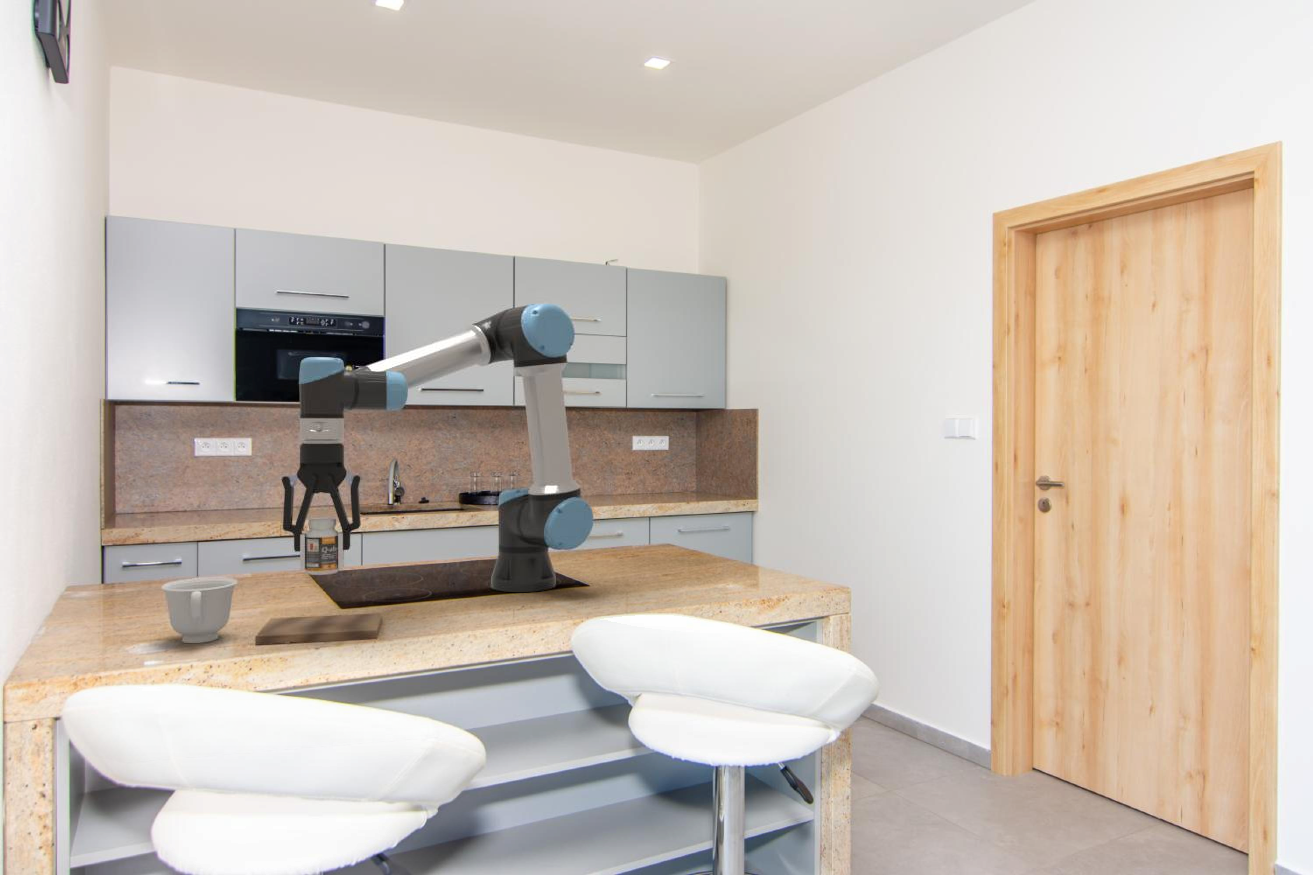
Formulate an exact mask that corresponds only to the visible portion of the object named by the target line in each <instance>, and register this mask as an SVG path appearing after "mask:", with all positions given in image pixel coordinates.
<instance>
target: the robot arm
mask: <svg viewBox="0 0 1313 875" xmlns="http://www.w3.org/2000/svg"><path fill="white" fill-rule="evenodd" d="M574 342H575V327H574V324H573V321H572V320H571V318H570V316H569V315H568V313H567V312H566V311H564V310H563V308H561V307H560V306H558V305H556V304H554V303H549V302H545V303H544V302H542V303H540V302H537V303H531V304H527V305H524V306H523V305H522V306H517V307H512V308H511V307H510V308H508V309H504V310H502V311H499V312H497V313H496V314H493V315H491V316H489V317H487V318H485V319H482V320H480V321H477V322H475V323H472V324H469V325H467V326H466V327H465V329H464V330H463V332H460V333H457V334H455V335H451V336H448V337H445V338H443V339H440V340H437V341H435V342H431V343H428V344H426V345H423V346H419V347H417V348H414V349H411V350H407V351H405V352H403V353H399V354H396V355H393V356H390V357H388V358H385V359H381V360H379V361H376V362H373V363H370V364H367V365H365V366H362V367H359V368H356V369H353V370H351V369H347V368H345V366H344V365H345V364H344V360H342V359H341V358H340V357H339V358H338V357H328V356H327V357H326V356H325V357H323V356H320V357H319V356H315V357H314V356H313V357H312V356H311V357H310V356H309V357H305V358H303V359H302V360H301V361H300V364H299V365H300V366H299V377H298V380H299V381H298V387H299V440H300V441H303V442H302V443H301V444H299V468H298V470H297V472H296V473H294V474H291V475H285V476H283V477H281V482H282V486H283V488H284V497H283V499H284V500H283V514H282V515H283V516H282V529H283V531H285V532H289V533H292V534H293V550H294V552H298V553H300V554H299V555H300V556H299V558H300V559H299V560H300V562H299V563H300V564H299V565H300V568H299V570H300V572H301V571H302V572H303V571H306V534H307V532H303V531H304V527H305V524H306V521H307V517H308V514H309V511H310V508H311V504H312V501H313V498H314V496H315V494H320V493H323V494H329V496H330V498H331V500H332V503H333V506H334V509H335V512H336V515H337V519H338V521H339V524H340V527H341V530H342V531H338V569H339V570H343V569H344V568H345V551H349V550H350V548H351V532H353V531H355V530H358V529H360V528H361V524H362V523H361V509H360V508H361V506H360V493H359V492H360V489H359V487H360V483H361V480H362V476H361V474H353V473H349V472H347V469H346V467H345V446H344V444H343V443H341V441H343V440H344V439H345V436H344V434H345V432H344V431H345V421H344V420H345V415H344V413H345V412H355V411H362V412H363V411H366V412H367V411H385V412H388V411H400V410H403V408H404V407H405V406H406V403H407V401H408V396H409V390H411V389H413V388H416V387H418V386H421V385H424V384H426V383H429V382H433V381H434V380H437V379H440V378H443V377H445V376H448V375H451V374H454V373H456V372H460V371H462V370H463V369H466V368H469V367H472V366H475V365H477V366H481V367H485V366H488V365H491V364H494V363H498V362H505V361H507V362H508V361H513V368H514V371H516V372H518V373H519V374H520V375H521V377H522V385H523V394H524V404H525V411H526V412H525V413H526V421H527V422H526V424H527V430H528V441H529V449H530V458H531V466H532V468H531V469H532V477H533V483H532V484H533V485H532V486H531V487H529V488H528V487H527V488H516V489H507V490H503V491H502V492H501V493H499V497H498V504H497V509H498V510H497V511H498V512H497V513H498V555H497V559H496V561H495V565H494V567H493V571H492V574H491V577H490V588H491V589H492V590H495V591H499V592H500V591H501V592H509V593H531V592H538V591H539V592H541V591H546V590H550V589H553V588H556V584H557V580H556V579H557V577H556V573H555V572H556V571H555V569H554V567H553V564H552V563H553V562H552V559H551V558H550V553H549V549H552V550H556V551H562V550H564V551H569V550H570V551H571V550H573V549H574V550H575V549H576V548H578V547H580V546H581V545H582V544H584V543H585V542H586V540H587V538H588V537H589V536H590V534H591V531H592V529H593V526H594V513H593V510H592V507H591V505H590V504H588V502H587V501H586V500H585V499H584V498H583V499H582V492H581V486H580V484H579V483H578V482H577V481H576V480H574V478H573V472H572V471H573V469H572V460H571V451H570V450H571V449H570V442H569V441H570V440H569V432H568V422H567V415H566V414H567V412H566V405H565V404H566V403H565V395H564V394H565V393H564V383H563V375H562V374H563V370H564V369H565V368H566V366H568V358H567V357H568V355H567V353H568V352H569V351H570V350H571V349H572V346H573V345H574ZM345 479H346V480H347V485H348V486H350V503H351V504H350V506H351V520H352V522H351V523H350V521H349V518H348V516H347V513H346V509H345V507H344V503H343V501H342V498H341V494H340V489H339V487H340V486H341V484H342V483H343V482H344V480H345ZM298 480H299V481H300V482H301V483H302V485H303V486H304V487H305V492H304V495H303V499H302V503H301V506H300V510H299V512H298V516H297V518H296V522H295V524H293V517H294V496H295V488H294V487H295V486H296V485H297V484H298V483H297V481H298Z"/></svg>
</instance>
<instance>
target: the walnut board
mask: <svg viewBox="0 0 1313 875" xmlns="http://www.w3.org/2000/svg"><path fill="white" fill-rule="evenodd" d="M381 622H383V613H382V612H379V613H359V614H354V613H353V614H337V615H318V616H316V615H315V616H313V615H312V616H298V617H297V616H296V617H295V616H293V617H276V618H275V617H274V618H273V617H272V618H270V619H269V620H268V621H267V622H266V623H265V625H264V626H263V627H262V628H261V629H260V630H259V632H258V633H257V634H256V635H254V636H255V641H254V642H255V646H261V645H260V644H267V645H271V644H270V643H285V644H289V643H288V642H304V643H317V642H318V643H319V642H337V641H340V642H341V641H354V640H355V641H356V640H357V641H359V640H374V639H378V635H379V632H380V628H381V626H382V623H381ZM286 642H287V643H286Z"/></svg>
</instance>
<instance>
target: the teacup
mask: <svg viewBox="0 0 1313 875" xmlns="http://www.w3.org/2000/svg"><path fill="white" fill-rule="evenodd" d="M238 583H239V581H238V580H237V579H235V578H232V577H224V576H223V577H220V576H219V577H217V576H216V577H214V576H213V577H212V576H210V577H194V578H187V579H180V580H179V579H178V580H173V581H170V582H166V583H164V584H162V585H161V586H160V588H161V590H162V591H163V592H164V594H165V597H166V603H167V612H168V617H169V618H168V619H169V621H170V625H171V628H172V630H174V631H175V632H176V633H178V634H179V635H182V637H181V638H182V639H181V642H182V643H184V644H203V643H209V642H213V641H216V640H217V639H219V633H218V632H219V631H221V630H222V629H224V627H226V625H227V624H228V622H229V619H230V614H231V609H232V608H231V607H232V603H233V602H232V601H233V600H232V599H233V594H234V590H235V587H236V585H238Z"/></svg>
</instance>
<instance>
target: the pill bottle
mask: <svg viewBox="0 0 1313 875" xmlns="http://www.w3.org/2000/svg"><path fill="white" fill-rule="evenodd" d="M336 521H337V520H336V518H335V517H317V518H315V517H314V518H310V519H308V527H309V530H308V531H307V532H306V533H307V534H306V570H305V572H306V574H308V575H310V576H324V575H333V574H336V573H338V572H339V570H340V569H338V533H339V531H338V530H336V525H337V522H336Z"/></svg>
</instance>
